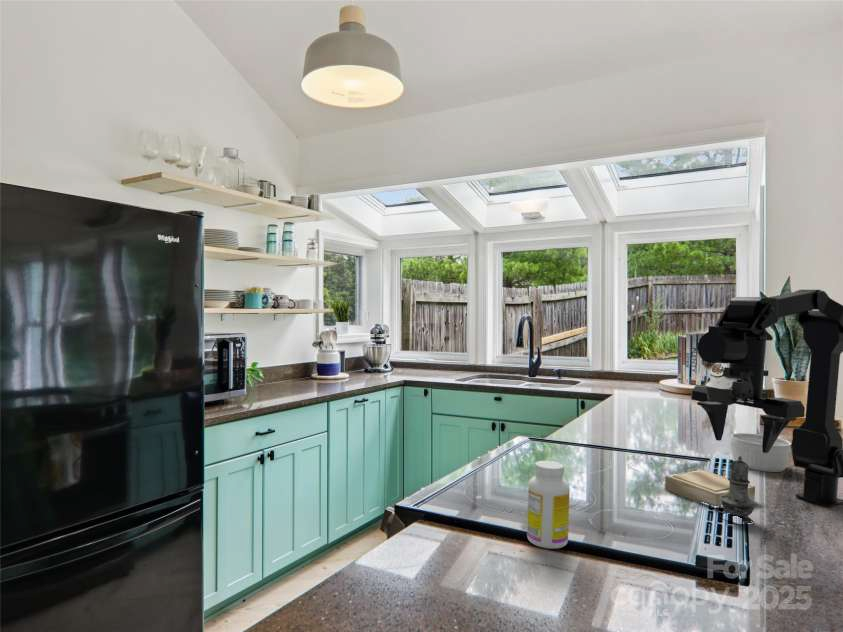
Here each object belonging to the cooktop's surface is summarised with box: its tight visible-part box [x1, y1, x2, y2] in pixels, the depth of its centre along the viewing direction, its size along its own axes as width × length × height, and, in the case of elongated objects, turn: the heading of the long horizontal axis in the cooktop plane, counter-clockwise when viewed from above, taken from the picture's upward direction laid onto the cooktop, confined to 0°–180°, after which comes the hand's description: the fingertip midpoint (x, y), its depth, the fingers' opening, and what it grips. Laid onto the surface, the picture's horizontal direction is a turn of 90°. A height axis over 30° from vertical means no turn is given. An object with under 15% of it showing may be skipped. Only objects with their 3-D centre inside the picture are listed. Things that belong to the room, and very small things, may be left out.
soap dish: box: [664, 469, 756, 506], centre depth 117 cm, size 12×12×3 cm
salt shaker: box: [720, 456, 757, 523], centre depth 104 cm, size 6×6×12 cm
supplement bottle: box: [526, 460, 571, 550], centre depth 91 cm, size 7×7×13 cm
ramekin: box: [730, 432, 792, 473], centre depth 140 cm, size 13×13×7 cm
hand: (741, 446), depth 104 cm, fingers open, 9 cm apart
